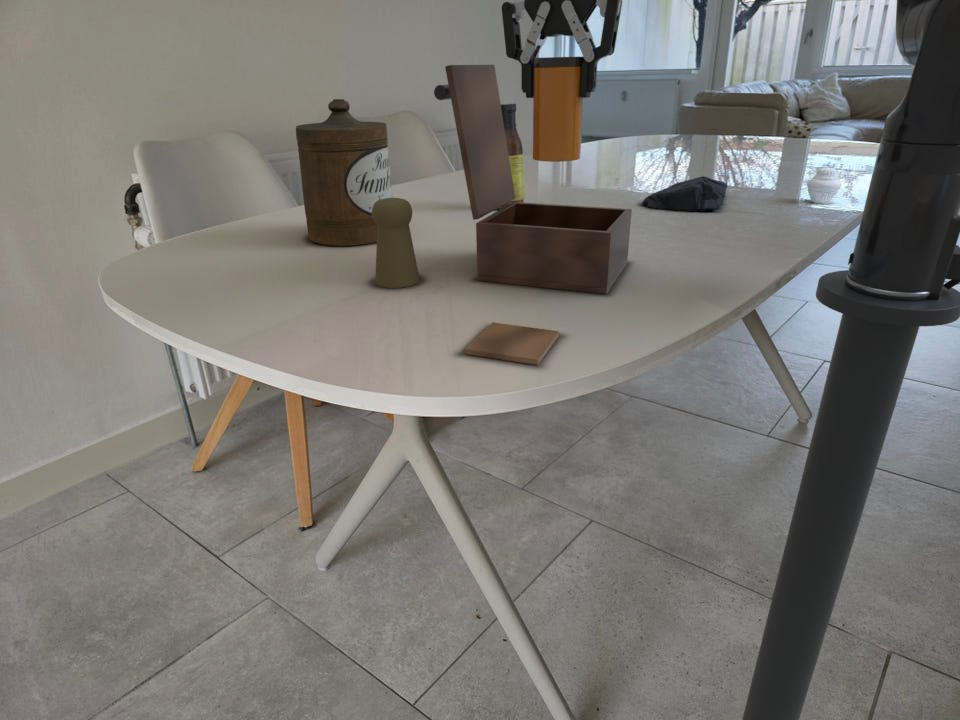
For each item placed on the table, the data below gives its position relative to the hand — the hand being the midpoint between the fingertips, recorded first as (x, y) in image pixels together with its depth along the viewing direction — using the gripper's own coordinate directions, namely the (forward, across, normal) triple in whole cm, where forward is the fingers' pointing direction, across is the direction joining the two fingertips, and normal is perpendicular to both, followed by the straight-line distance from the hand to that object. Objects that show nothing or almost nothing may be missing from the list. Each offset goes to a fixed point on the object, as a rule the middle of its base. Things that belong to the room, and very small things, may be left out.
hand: (558, 97), depth 75 cm
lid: (+5, -10, +2) cm, 12 cm away
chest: (+23, 0, +2) cm, 23 cm away
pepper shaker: (+23, -19, -9) cm, 31 cm away
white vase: (+23, +37, +66) cm, 79 cm away
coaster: (+23, +3, -24) cm, 33 cm away
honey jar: (+7, 0, 0) cm, 7 cm away
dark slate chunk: (+23, +12, +59) cm, 65 cm away
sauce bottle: (+23, -22, +41) cm, 52 cm away
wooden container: (+23, -40, +11) cm, 47 cm away
